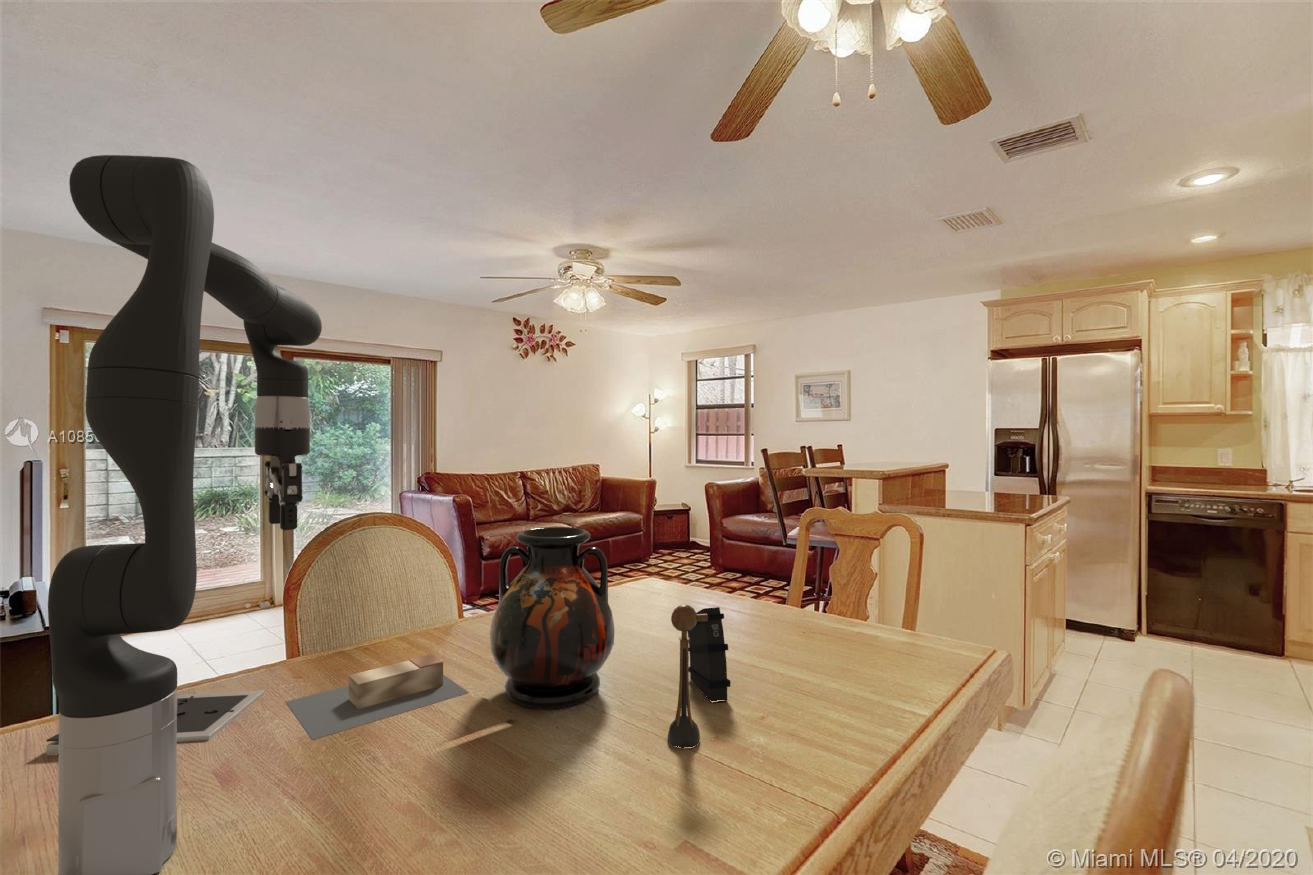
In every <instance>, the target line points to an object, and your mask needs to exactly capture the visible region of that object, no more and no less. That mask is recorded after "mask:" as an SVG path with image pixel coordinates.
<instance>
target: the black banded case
mask: <svg viewBox="0 0 1313 875" xmlns="http://www.w3.org/2000/svg"><path fill="white" fill-rule="evenodd" d="M696 613H697V614H707V615H708V621H702V622H697V623H696V626H695V627H694V628H693V629H692V630H689V631H687V637H689V638H690V640H689V679H690V680H692V681H693V682H694V683H693V682H692V681H691V682H692V683H693V684H694V685H695V686H696V687H697V689H700V690H701V691H702V692H703V693H702V692H701V691H700V690H699V691H700V692H701V693H702V694H703V695H704V696H705V697H706V696H707V697H706V699H707V698H708V699H709V700H711V701H717V700H727V701H728V688H730V687H731V680H730V679H729V678H728V669H727V665H728V664H727V655H726V651H729V644H728V643H725V634H724V627H723V619H725V614H724V613H721V609H720V606H718V607H717V606H716V607H708V608H707V607H706V608H702V609H701V610H698V611H697V612H696ZM708 699H707V700H708ZM709 700H708V701H709Z"/></svg>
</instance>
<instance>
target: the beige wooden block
mask: <svg viewBox="0 0 1313 875" xmlns="http://www.w3.org/2000/svg"><path fill="white" fill-rule="evenodd" d="M443 675H444V661H443V660H442V659H441V658H439V657H438V656H436V655H434V654H433V653H429V654H426V655H421V656H417V657H413V658H409V660H405V661H402V662H397V663H394V664H389V665H386V666H382V667H381V666H380V667H377V668H373V669H369V670H365V671H361V672H357V673H353V674H349V675H348V686H349V700H350V701H351V702H352V703H353V704H354V705H355V706H356V707H357V708H358V709H361V708H364V707H368V706H371V705H375V704H378V703H382V702H386V701H389V700H393V699H396V698H400V697H403V696H407V695H410V694H414V693H417V692H421V691H424V690H428V689H431V688H435V687H438V686H442V685H443Z"/></svg>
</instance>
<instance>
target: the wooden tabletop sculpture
mask: <svg viewBox="0 0 1313 875" xmlns="http://www.w3.org/2000/svg"><path fill="white" fill-rule="evenodd" d="M670 621H671V624H672V626H673V627H674V628H675V630H676V631H680V632H681V636H680V637H678V640H679V682H678V683H679V684H678V697H677V706H676V713H675V718H674V719H673V721H672V722H671V723H670V725H669V729H668V734H667V743H668V742H669V743H670V744H671V745H672V746H677V747H678V746H679V747H681V748H684V747H693V746H695V745H697V744H698V743H699V744H700V742H699V740H700V739H701V737H700V736H701V735H700V729H699V726H698V724H697V723H696V722H695V721H694V719H692V713H691V712H692V711H691V702H690V701H691V700H690V680H689V679H690V672H689V667H690V651H689V640H690V638H689V637H688V632H687V631H689V630H692V629H693V628H694V627H695V626H696V623H697V622H702V621H708V615H707V614H697V612H696V610H695V608H693V606H691V605H688V604H681V605H678V606H677V607H676V608H674V609H673V612H672V613H671V618H670ZM700 741H701V740H700ZM669 743H668V744H669ZM670 744H669V745H670ZM671 745H670V746H671ZM672 746H671V747H672ZM697 746H698V745H697Z"/></svg>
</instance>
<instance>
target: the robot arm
mask: <svg viewBox="0 0 1313 875" xmlns="http://www.w3.org/2000/svg"><path fill="white" fill-rule="evenodd" d="M69 193H70V196H71V199H72V200H71V201H72V202H73V205H74V207H75V209H76V211H77V212H78V214H79V215H80V217H81V218H82V220H84V221H85V223H87V225H88V226H89V227H90V228H91V229H93V230H94V231H95V232H96V233H98V234H99V235H100V236H102V237H103V238H105V239H107V240H109V241H111V242H112V243H114V244H116V245H118V246H119V247H123V248H124V249H126V250H128V251H131V252H132V253H134V254H136V255H138V256H140V257H142V258H144V259H146V260H147V263H146V267H145V271H144V274H143V276H142V278H141V280H140V282H139V284H138V286H137V288H136V289H135V291H134V292H133V294H132V295H131V296H130V297H129V299H128V300H127V301H126V303H124V305H123V306H121V308H120V309H119V311H118V312H117V313H116V314H115V316H114V317H112V319H111V320H110V322H108V324H107V325H106V326H105V328H104V329H103V331H102V332H101V333H100V335H99V336H98V338H96V341H95V343H94V345H93V346H92V348H91V351H90V352H89V358H88V364H87V373H86V374H87V375H86V390H85V392H86V393H85V416H86V419H87V422H88V423H87V424H88V425H89V427H90V429H91V431H92V433H93V434H94V436H95V437H96V439H97V440H98V442H99V444H100V445H101V446H102V448H103V449H104V451H105V452H106V453H107V454H108V455H109V457H110V458H111V460H112V461H113V462H114V463H115V465H116V466H117V467H118V468H119V469H120V471H121V473H123V475H124V476H125V479H127V481H128V482H129V484H130V486H131V487H132V489H133V491H134V493H135V495H136V497H137V500H138V502H139V506H140V508H141V513H142V518H143V519H142V520H143V526H144V527H143V528H144V542H140V543H139V542H138V543H115V544H114V543H113V544H110V543H109V544H93V545H85V546H79V547H77V548H73V549H71V550H70V551H69V552H67V553H65V555H63V556H62V557H61V559H60V560H59V561H58V563H57V565H56V567H55V568H54V571H53V573H52V575H51V577H50V583H49V589H48V597H47V614H48V615H47V616H48V619H47V620H48V631H49V642H50V643H49V644H50V656H51V657H50V658H51V676H52V678H51V679H52V684H53V688H54V690H55V693H56V695H57V697H58V734H59V755H58V782H57V783H58V787H57V788H58V792H57V793H58V794H57V795H58V796H57V797H58V801H57V802H58V808H57V809H58V811H57V812H58V813H57V814H58V815H57V816H58V818H57V819H58V821H57V822H58V825H57V826H58V827H57V831H58V833H57V837H58V838H57V844H58V847H57V848H58V861H57V862H58V870H57V871H58V872H57V873H58V875H154V874H157V873H159V872H161V871H163V864H164V863H165V862H166V861H167V860H168V859H169V858H170V857H171V856H172V855H173V854H174V852H175V850H176V848H177V844H178V841H177V840H178V839H177V838H178V832H177V831H178V830H177V829H178V826H177V825H178V824H177V823H178V821H177V820H178V806H177V803H178V802H177V800H178V799H177V797H178V795H177V793H178V786H177V781H178V780H177V779H178V778H177V777H178V770H177V769H178V767H177V766H178V764H177V763H178V762H177V761H178V755H177V754H178V753H177V752H178V742H177V695H178V666H177V665H176V662H175V661H173V660H172V659H171V658H169V657H167V656H163V655H160V654H157V653H153V652H148V651H145V650H143V649H140V648H138V647H135V646H133V645H131V644H130V643H128V642H127V641H126V640H124V638H123V637H122V636H121V635H128V634H143V633H145V634H146V633H153V632H154V633H155V632H165V631H169V630H170V631H171V630H173V629H176V628H178V627H179V626H182V624H183V623H184V622H185V621H186V619H187V618H188V616H189V614H190V613H191V611H192V608H193V605H194V600H195V596H196V589H197V581H198V580H197V577H198V576H197V571H198V570H197V568H198V567H197V565H198V564H197V545H196V542H197V540H196V523H195V522H196V519H195V501H194V500H195V499H194V498H195V497H194V472H195V471H194V470H195V469H194V468H195V451H196V450H195V449H196V436H197V435H196V434H197V425H198V424H197V422H198V410H199V392H200V344H201V343H200V342H201V326H202V325H201V324H202V312H203V310H202V309H203V301H204V293H207V294H208V295H209V296H211V298H213V299H215V300H216V301H217V302H218V303H220V304H221V306H224V307H225V308H226V309H227V310H228V311H230V312H231V313H232V314H234V315H235V316H237V317H238V318H239V319H240V320H243V328H244V332H245V335H246V338H247V340H248V344H249V347H250V351H251V353H252V358H253V362H254V364H255V368H256V402H255V409H254V453H255V454H256V456H263V457H264V456H265V457H266V456H267V457H269V456H270V460H265V462H264V469H265V470H264V472H265V473H264V491H263V492H264V493H263V494H264V495H265V498H266V499H267V501H268V523H269V524H271V525H279V528H280V529H281V530H282V531H290V530H296V529H297V528H298V505H300V502H302V501H303V499H304V498H303V497H304V496H303V472H302V471H303V465H302V463H301V462H296V457H297V456H307V455H309V454H310V450H311V449H310V448H311V444H310V443H311V438H310V437H311V435H310V434H311V430H310V429H311V412H310V406H309V369H308V367H307V366H306V364H304V362H303V363H302V362H300V361H297V360H292V359H286V358H284V357H283V356H282V355H281V354H280V351H279V349H278V346H283V347H284V346H288V347H289V346H296V347H301V346H303V347H304V346H305V347H306V346H309V345H312V344H314V343H315V342H317V340H318V339H319V338H320V336H321V334H322V328H323V324H322V320H321V318H320V315H319V313H318V311H317V309H315V307H314V306H313V305H312V304H311V303H310V302H309V301H307V300H306V299H304V298H303V297H301V296H300V295H297V294H296V293H294V292H292V291H290V290H288V289H286V288H284V287H281V286H279V285H277V284H275V283H274V281H272V280H271V278H269V276H267V275H266V274H265V273H264V272H263V271H262V270H261V269H260V268H259V267H258V266H257V265H255V264H254V263H253V262H252V261H250V260H249V259H248V258H245V257H243V256H242V255H241V254H240V255H239V254H238V253H236V252H235V251H232V250H230V249H228V248H225V247H224V246H221V245H219V244H217V243H215V242H213V236H214V226H215V225H214V224H215V223H214V222H215V209H214V199H213V196H212V190H211V188H210V185H209V183H208V180H207V179H206V177H205V176H204V173H203V172H202V171H201V170H200V169H199V168H198V167H197V166H196V165H194V164H193V163H191V162H189V161H187V160H185V159H181V158H177V157H169V156H152V155H125V154H124V155H121V154H119V155H117V154H114V155H113V154H112V155H111V154H101V155H91V156H89V157H84V158H82V159H81V160H79V161H77V162H76V164H75V165H74V166H73V168H72V170H71V172H70V174H69Z"/></svg>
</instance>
